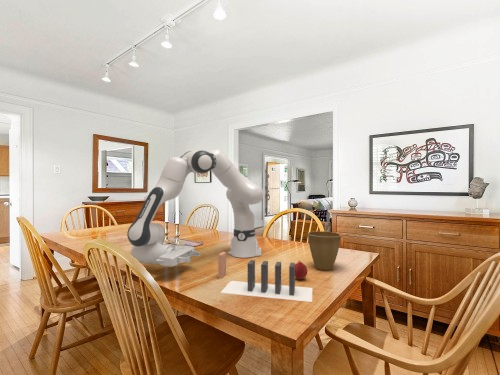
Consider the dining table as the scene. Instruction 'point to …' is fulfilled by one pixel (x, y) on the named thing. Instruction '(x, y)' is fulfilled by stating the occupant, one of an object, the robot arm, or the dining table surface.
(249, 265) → the domino
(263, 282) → the domino
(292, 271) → the domino
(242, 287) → the mat
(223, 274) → the terracotta domino
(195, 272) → the dining table surface
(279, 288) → the domino
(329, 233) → the plant pot
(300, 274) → the onion
